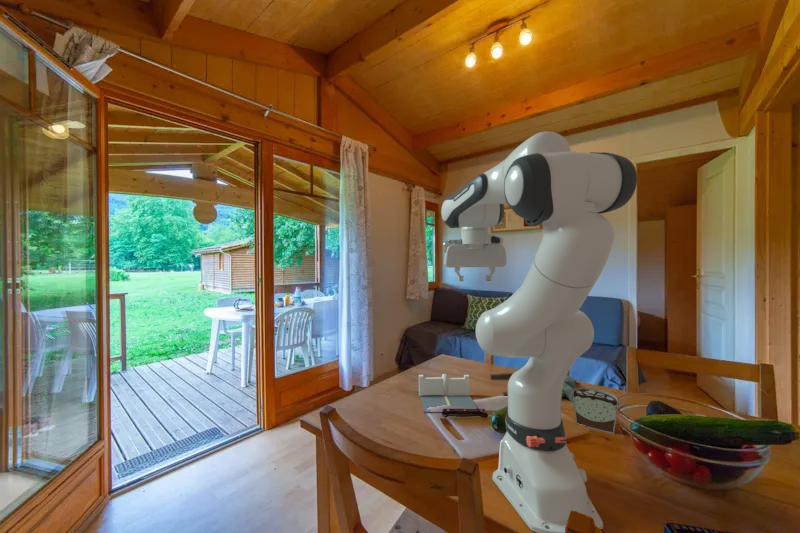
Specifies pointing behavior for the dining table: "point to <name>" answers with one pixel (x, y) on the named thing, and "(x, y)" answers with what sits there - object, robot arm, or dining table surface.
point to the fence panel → (433, 385)
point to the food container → (595, 408)
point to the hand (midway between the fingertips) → (474, 280)
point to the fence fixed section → (458, 386)
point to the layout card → (446, 401)
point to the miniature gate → (566, 390)
